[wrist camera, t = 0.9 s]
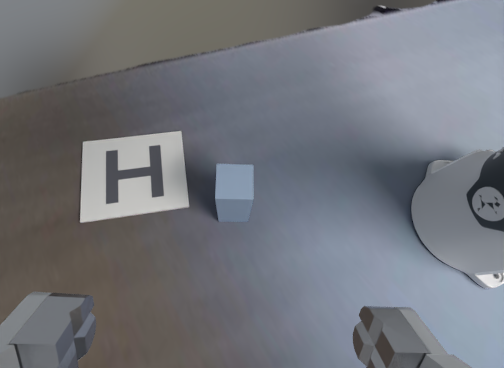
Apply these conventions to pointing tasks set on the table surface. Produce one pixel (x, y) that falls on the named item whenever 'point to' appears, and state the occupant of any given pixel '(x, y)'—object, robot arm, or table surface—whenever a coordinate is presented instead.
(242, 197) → the blue block
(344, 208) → the table surface
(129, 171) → the letter card
